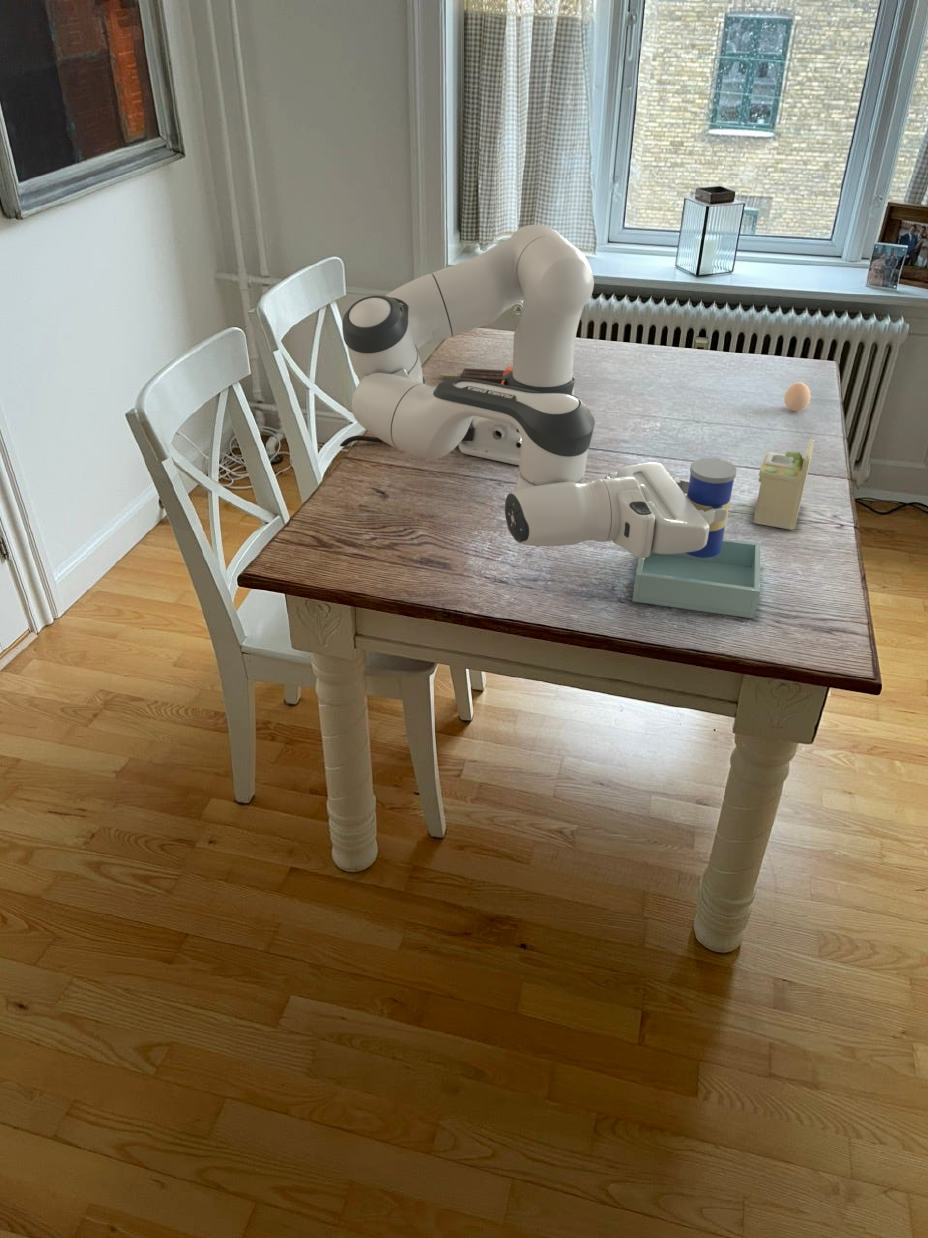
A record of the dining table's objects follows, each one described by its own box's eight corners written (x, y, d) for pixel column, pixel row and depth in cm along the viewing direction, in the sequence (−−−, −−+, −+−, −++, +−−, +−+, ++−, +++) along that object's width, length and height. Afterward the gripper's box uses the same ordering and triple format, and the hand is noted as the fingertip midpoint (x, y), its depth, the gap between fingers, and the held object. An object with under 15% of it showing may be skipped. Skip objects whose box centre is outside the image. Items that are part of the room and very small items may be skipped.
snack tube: (676, 555, 141) (689, 475, 133) (680, 533, 146) (692, 455, 138) (720, 561, 140) (736, 480, 132) (722, 539, 145) (737, 460, 137)
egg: (782, 403, 202) (787, 376, 198) (807, 406, 200) (813, 379, 197) (781, 413, 198) (787, 386, 194) (807, 416, 197) (813, 389, 193)
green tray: (632, 601, 143) (635, 574, 140) (641, 554, 154) (644, 528, 151) (754, 618, 140) (760, 591, 137) (755, 569, 150) (760, 543, 147)
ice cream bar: (438, 382, 211) (506, 386, 209) (438, 375, 210) (507, 379, 208) (442, 373, 215) (509, 377, 213) (442, 366, 214) (509, 370, 212)
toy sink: (756, 500, 168) (770, 430, 160) (799, 507, 166) (816, 437, 158) (749, 523, 162) (763, 451, 154) (794, 531, 160) (810, 459, 152)
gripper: (598, 493, 146) (684, 485, 148) (642, 565, 130) (739, 555, 132) (601, 455, 143) (690, 448, 145) (647, 524, 126) (747, 515, 128)
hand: (714, 500), depth 138 cm, fingers closed on snack tube, 6 cm apart
